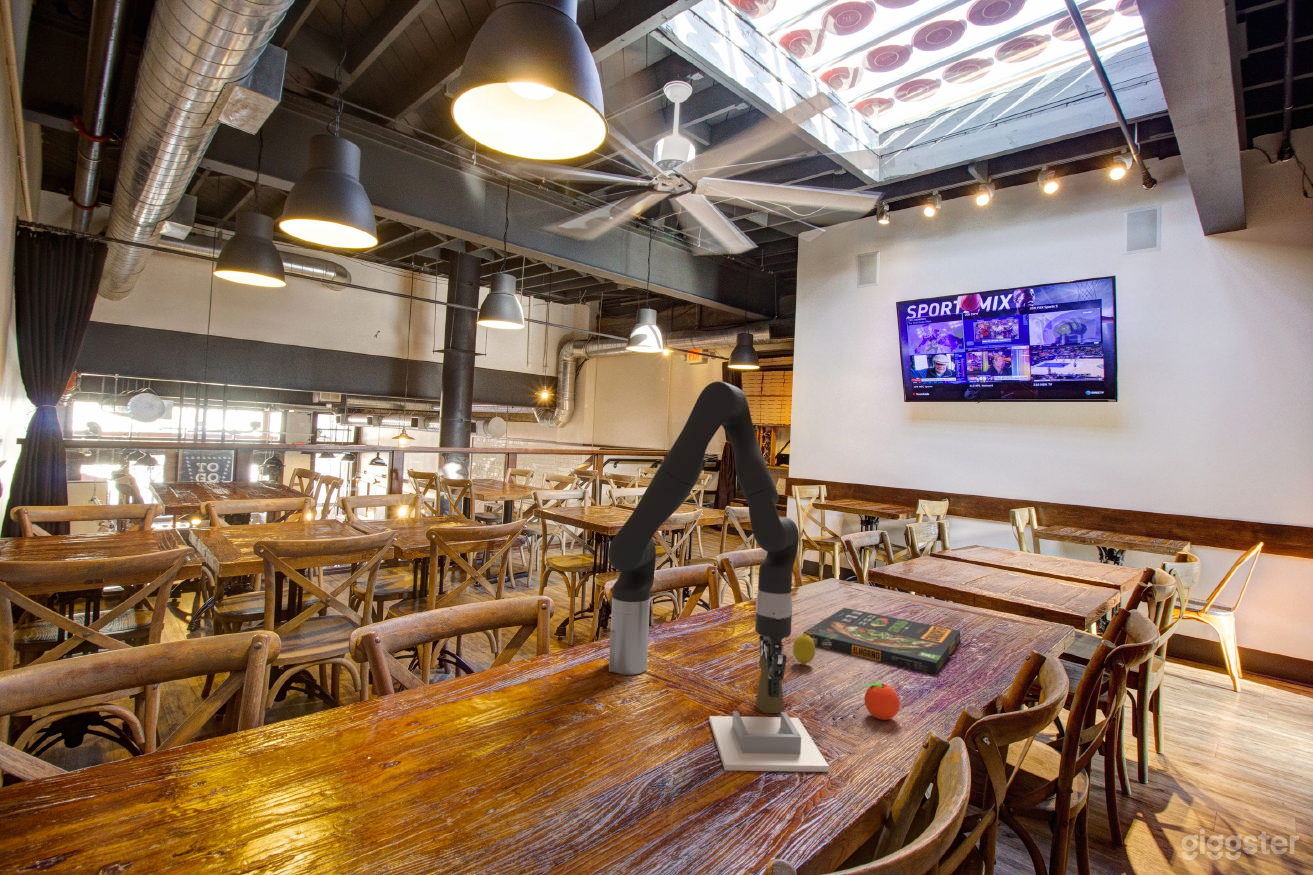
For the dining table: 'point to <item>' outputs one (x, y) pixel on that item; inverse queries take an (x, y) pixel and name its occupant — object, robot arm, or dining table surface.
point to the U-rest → (765, 744)
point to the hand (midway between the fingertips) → (770, 691)
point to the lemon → (804, 649)
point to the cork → (763, 699)
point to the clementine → (881, 701)
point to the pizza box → (886, 639)
